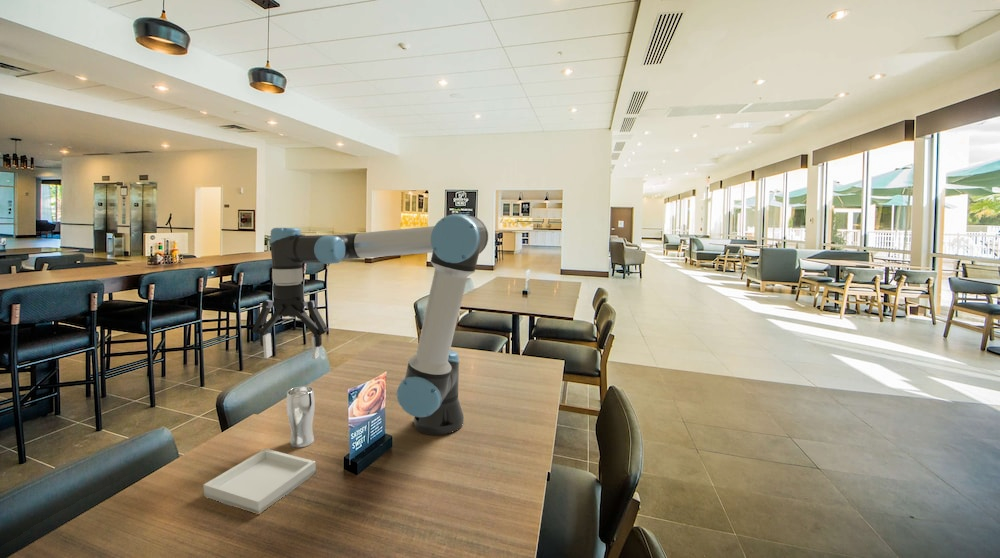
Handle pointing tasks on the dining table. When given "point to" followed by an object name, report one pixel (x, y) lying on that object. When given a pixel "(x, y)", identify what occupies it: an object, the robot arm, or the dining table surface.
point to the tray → (260, 480)
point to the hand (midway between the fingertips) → (291, 357)
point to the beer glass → (301, 415)
